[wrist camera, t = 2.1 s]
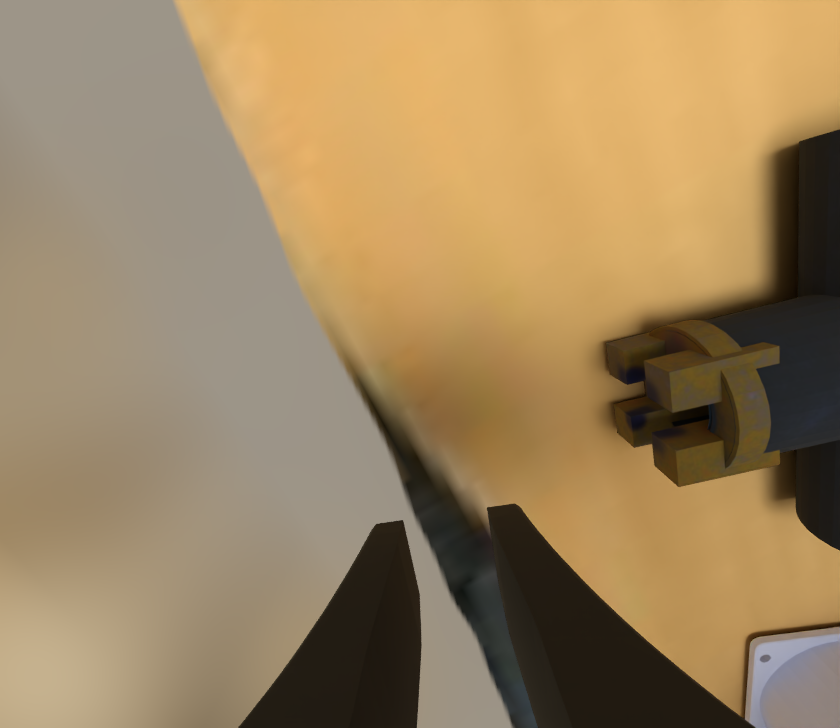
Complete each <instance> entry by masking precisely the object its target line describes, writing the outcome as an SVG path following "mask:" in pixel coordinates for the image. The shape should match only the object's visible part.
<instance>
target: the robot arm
mask: <svg viewBox="0 0 840 728" xmlns="http://www.w3.org/2000/svg"><path fill="white" fill-rule="evenodd" d="M487 511H488V518H489V524H490V531H491V537H492V544H493V550H494V557H495V563H496V570H497V577H498V583H499V588H500V592H501V597H502V602H503V607H504V611H505V616H506V621H507V625H508V630H509V634H510V638H511V641H512V644H513V648H514V651H515V654H516V657H517V661H518V664H519V667H520V671H521V674H522V677H523V680H524V684H525V687H526V690H527V693H528V697H529V700H530V703H531V707H532V710H533V713H534V716H535V720H536V723H537V726H538V728H840V627H834V628H826V629H818V630H810V631H802V632H794V633H786V634H778V635H770V636H762V637H757V638H755V639H753V640H752V641H751V643H750V651H749V666H748V681H747V695H746V710H745V719H743V718H742V717H741V716H739V715H738V714H737V713H735V712H734V711H733V710H731V709H730V708H729V707H727V706H726V705H725V704H723V703H722V702H721V701H720V700H718V699H717V698H716V697H715V696H713V695H712V694H711V693H710V692H708V691H707V690H706V689H705V688H703V687H702V686H701V685H700V684H698V683H697V682H696V681H695V680H693V679H692V678H691V677H690V676H688V675H687V674H686V673H685V672H683V671H682V670H681V669H680V668H679V667H677V666H676V665H675V664H674V663H673V662H671V661H670V660H669V659H668V658H667V657H666V656H664V655H663V654H662V653H661V652H660V651H658V650H657V649H656V648H655V647H654V646H652V645H651V644H650V643H649V642H648V641H647V640H646V639H644V638H643V637H642V636H641V635H640V634H639V633H638V632H637V631H635V630H634V629H633V628H632V627H631V626H630V625H629V624H628V623H627V622H626V621H624V620H623V619H622V618H621V617H620V616H619V615H618V614H617V613H616V612H615V611H614V610H613V609H612V608H611V607H610V606H609V605H608V604H606V603H605V602H604V601H603V600H602V599H601V598H600V597H599V596H598V595H597V594H596V593H595V592H594V591H593V590H592V589H591V588H590V587H589V586H588V585H587V584H586V583H585V582H584V581H583V580H582V579H581V578H580V577H579V576H578V575H577V574H576V572H575V571H574V570H573V569H572V568H571V567H570V566H569V565H568V564H567V563H566V562H565V561H564V560H563V559H562V558H561V557H560V555H559V554H558V553H557V552H556V551H555V550H554V549H553V548H552V547H551V545H550V544H549V543H548V542H547V541H546V540H545V538H544V537H543V536H542V535H541V534H540V532H539V531H538V530H537V529H536V528H535V526H534V525H533V524H532V523H531V521H530V520H529V519H528V517H527V516H526V515H525V513H524V512H523V510H522V509H521V508H520V507H519V506H518V505H516V504H509V505H502V506H495V507H488V508H487ZM420 661H421V619H420V594H419V590H418V585H417V580H416V576H415V571H414V567H413V563H412V559H411V554H410V549H409V545H408V540H407V536H406V531H405V527H404V522H403V520H401V521H394V522H387V523H380V524H376V525H375V526H374V528H373V529H372V531H371V532H370V534H369V536H368V538H367V540H366V541H365V543H364V545H363V547H362V549H361V550H360V552H359V554H358V556H357V557H356V559H355V561H354V563H353V564H352V566H351V568H350V570H349V571H348V573H347V575H346V576H345V578H344V580H343V581H342V583H341V584H340V586H339V588H338V589H337V591H336V593H335V594H334V596H333V597H332V599H331V601H330V602H329V604H328V606H327V607H326V609H325V610H324V612H323V614H322V615H321V616H320V618H319V619H318V621H317V622H316V624H315V625H314V627H313V628H312V630H311V631H310V632H309V634H308V635H307V637H306V638H305V640H304V641H303V643H302V644H301V646H300V647H299V649H298V650H297V652H296V653H295V654H294V656H293V657H292V659H291V660H290V661H289V663H288V664H287V665H286V667H285V668H284V670H283V671H282V673H281V674H280V675H279V676H278V678H277V679H276V680H275V682H274V683H273V684H272V686H271V687H270V688H269V690H268V691H267V692H266V693H265V695H264V696H263V697H262V698H261V700H260V701H259V702H258V704H257V705H256V706H255V707H254V709H253V710H252V711H251V712H250V714H249V715H248V716H247V717H246V719H245V720H244V721H243V722H242V724H241V725H240V726H239V727H238V728H417V713H418V697H419V680H420Z"/></svg>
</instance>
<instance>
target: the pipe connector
mask: <svg viewBox="0 0 840 728" xmlns="http://www.w3.org/2000/svg"><path fill="white" fill-rule="evenodd" d="M606 348H607V356H608V363H609V371H610V375H612V376H614V377H615V378H617V379H619V380H620V381H622V382H623V383H625V384H627V385H628V384H632V383H637V382H641V381H644V387H645V397H641V398H637V399H633V400H629V401H624V402H620V403H616V404H614V410H615V418H616V426H617V433H618V434H619V435H621V436H622V437H623V438H624V439H625V440H626V441H627V442H628V443H630V444H631V445H632V446H633V447H634V448H635V447H640V446H644V445H648V444H652V445H653V455H654V465H655V466H656V467H657V468H658V469H659V470H660V471H661V472H662V473H664V474H665V475H666V476H667V477H668V478H669V479H670V480H671V481H673V482H674V483H675V484H676V485H677V486H678V487H681V486H686V485H690V484H695V483H699V482H704V481H708V480H713V479H717V478H722V477H726V476H731V475H735V474H740V473H744V472H749V471H753V470H758V469H762V468H767V467H771V466H776V465H780V453H782V452H787V451H791V450H796V513H797V515H798V517H799V519H800V521H801V522H802V524H803V525H804V526H805V527H806V528H807V529H808V530H809V531H810V532H811V533H813V534H814V535H815V536H816V537H818V538H819V539H820V540H822V541H824V542H825V543H827V544H829V545H830V546H832V547H834V548H836V549H838V550H840V130H836V131H833V132H829V133H826V134H823V135H819V136H816V137H813V138H809V139H806V140H803V141H800V142H799V225H798V298H794V299H790V300H786V301H782V302H778V303H774V304H770V305H765V306H761V307H757V308H753V309H749V310H745V311H741V312H737V313H733V314H729V315H725V316H720V317H716V318H712V319H708V320H704V321H700V320H687V321H682V322H678V323H674V324H670V325H666V326H662V327H658V328H656V329H655V330H653V331H651V332H648V333H644V334H640V335H636V336H632V337H628V338H624V339H620V340H616V341H612V342H607V343H606Z"/></svg>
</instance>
